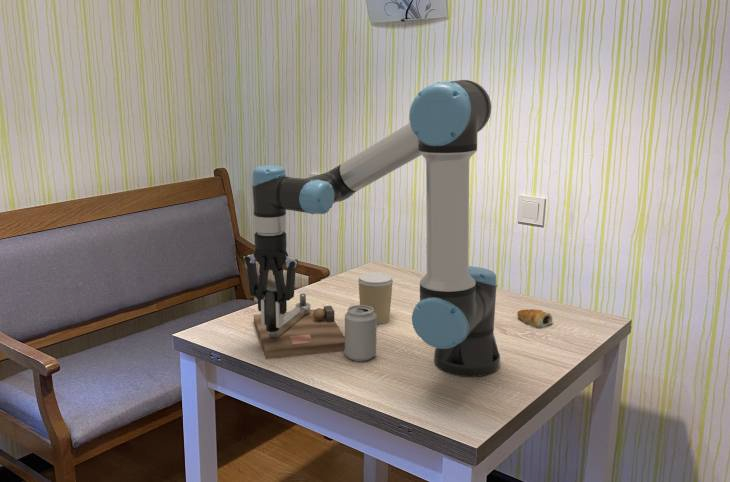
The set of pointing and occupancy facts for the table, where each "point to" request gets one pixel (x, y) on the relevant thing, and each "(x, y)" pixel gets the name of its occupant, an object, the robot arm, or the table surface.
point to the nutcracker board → (303, 335)
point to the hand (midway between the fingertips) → (272, 324)
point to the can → (360, 333)
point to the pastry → (535, 317)
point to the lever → (289, 318)
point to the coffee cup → (376, 294)
